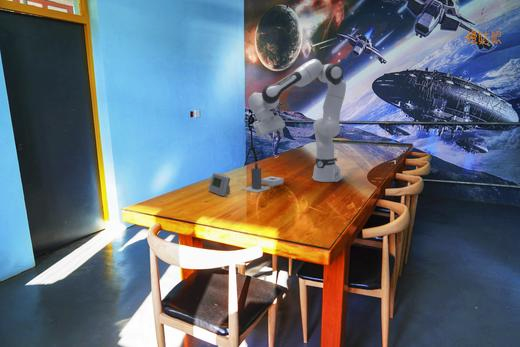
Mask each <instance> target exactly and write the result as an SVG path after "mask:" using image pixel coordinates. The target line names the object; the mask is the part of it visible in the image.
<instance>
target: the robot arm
mask: <svg viewBox="0 0 520 347" xmlns="http://www.w3.org/2000/svg"><path fill="white" fill-rule="evenodd" d="M343 71H344V70H343V68H342V66H341V65H340V64H338V63H327V64H323V63H322V62H321V61H320V60H319V59H317V58H313V59H310V60H308V61H305V62H304V63H303V64H301V65H299V67H297V68H296V69H294V71H292V72H291V73H289V74H288V75H287V76H285V77H283V78H281V79H279V81H277V82H276V83H275V82H274V83H272V84H268V85H266V86H265V87H264V88H262V91H261V92H256V91H255V92H253V93H251V94H250V95H249V96H248V98H247V104H248V106H249V108H250V110H251V112H252V113H253V114H254V116H255V118H256V121H253V123H252V127H253V128H254V131H255V133H256V135H257V137H259V138H261V137H264V138H265V139H267V140H268V142H272V141H273V138H272V136H269V134H272V133H274V132H277V131H278V132H279V133H280V134H279V137H281V138H282V137H283V136H284V135H285V134H284V131H283V129H284V128H285V127H286V123H285V122H284V120H283V118H282V116H279V115H280V114H279V112H277V111H271V110H272V109H273V110H274V109H276V108H277V107H278V106H279V104H280V97H281V95H282V94H283V93H284V92H286V91H287V90H289V89H290V88H292V87H293V86H296V87H299V88H303V87H305V86H307V85H309V84H310V83H311V82H313V81H314V80H315V79H316V80H317V81H318V82H319V83H321V84H327V91H326V95H325V98H324V101H323V105H322V110H323V111H322V113H323V114H322V117H321V118H318V119H316V120H315V121H314V122H313V124H312V129H313V131H314V137H315V143H316V157H315V165H313V166H314V167H313V175H312V176H311V178H312V179H313V180H314V181H316V182H322V183H333V182H335V183H336V182H337V183H338V182H339V181H340V180H343V179H344V178H345V176H344V175H342V174H341V168H340V167H339V166H338V165H337V164H336V162H337V161H338V158H337V157H335V145H334V142H333V138H335V137H337V136H338V135H339V134H340V132H341V125H340V120H341V118H340V116H341V110H342V105H343V104H344V99H345V95H346V88H347V83H346V81H344V76H343V75H344V72H343Z"/></svg>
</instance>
